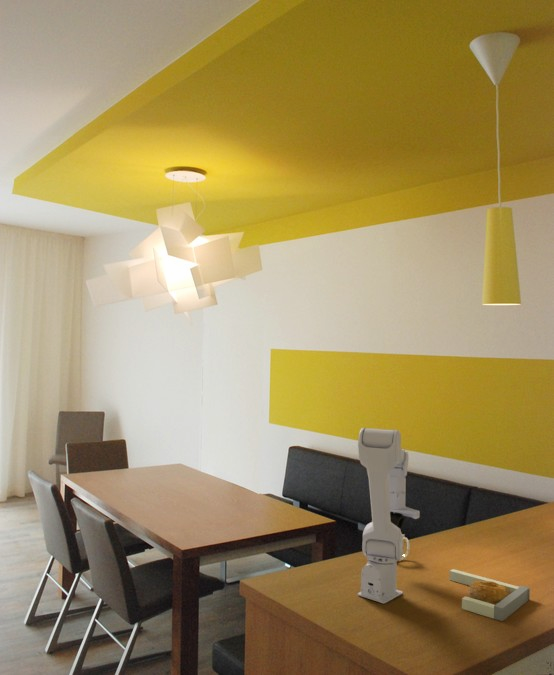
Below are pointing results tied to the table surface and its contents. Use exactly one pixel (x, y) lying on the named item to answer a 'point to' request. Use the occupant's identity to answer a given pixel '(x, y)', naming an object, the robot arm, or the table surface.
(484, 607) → the guide
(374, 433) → the robot arm
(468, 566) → the table surface
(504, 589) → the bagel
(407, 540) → the ring
